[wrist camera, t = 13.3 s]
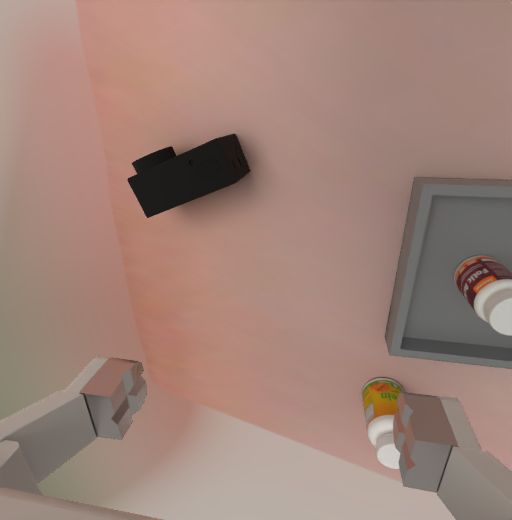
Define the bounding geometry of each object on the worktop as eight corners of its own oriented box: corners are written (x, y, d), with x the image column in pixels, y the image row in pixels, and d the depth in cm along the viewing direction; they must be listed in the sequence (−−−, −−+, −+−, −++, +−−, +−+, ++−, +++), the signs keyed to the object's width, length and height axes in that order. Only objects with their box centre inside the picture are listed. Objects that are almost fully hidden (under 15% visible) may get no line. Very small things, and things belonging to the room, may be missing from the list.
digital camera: (232, 121, 36) (212, 124, 30) (251, 170, 38) (236, 182, 31) (152, 158, 39) (119, 167, 33) (173, 201, 41) (146, 218, 35)
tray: (414, 177, 35) (423, 184, 32) (593, 182, 32) (622, 190, 29) (384, 337, 43) (389, 355, 40) (525, 351, 40) (542, 372, 37)
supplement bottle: (410, 384, 45) (431, 450, 36) (393, 411, 47) (409, 479, 39) (370, 371, 45) (381, 433, 37) (356, 398, 48) (363, 463, 39)
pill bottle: (465, 249, 36) (502, 285, 28) (511, 261, 35) (561, 301, 28) (444, 287, 38) (474, 330, 30) (488, 299, 37) (529, 346, 30)
